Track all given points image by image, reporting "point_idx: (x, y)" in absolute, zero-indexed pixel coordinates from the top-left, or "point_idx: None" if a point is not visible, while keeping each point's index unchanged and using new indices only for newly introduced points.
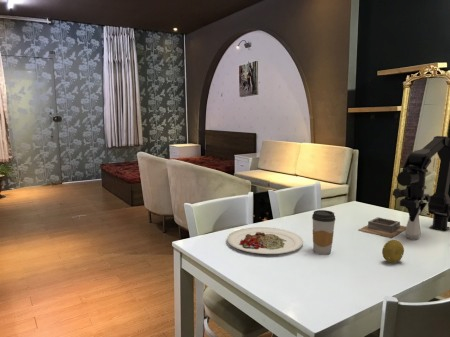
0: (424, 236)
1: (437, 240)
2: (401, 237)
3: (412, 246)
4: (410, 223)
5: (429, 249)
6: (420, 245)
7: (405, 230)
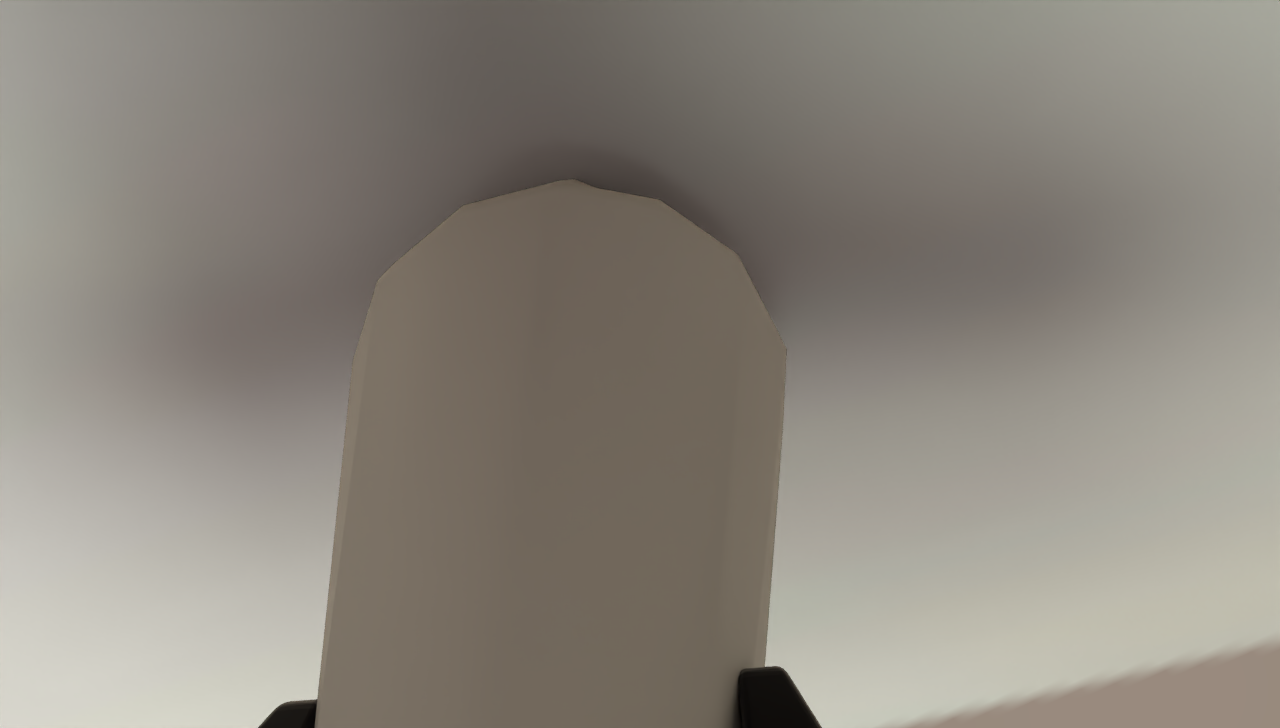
0: (951, 421)
1: (857, 643)
2: (364, 112)
3: (43, 527)
4: (330, 610)
5: (218, 719)
6: (258, 583)
7: (427, 259)
